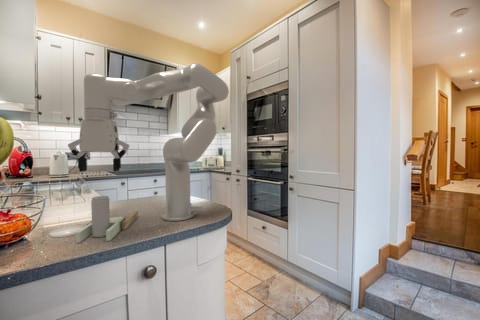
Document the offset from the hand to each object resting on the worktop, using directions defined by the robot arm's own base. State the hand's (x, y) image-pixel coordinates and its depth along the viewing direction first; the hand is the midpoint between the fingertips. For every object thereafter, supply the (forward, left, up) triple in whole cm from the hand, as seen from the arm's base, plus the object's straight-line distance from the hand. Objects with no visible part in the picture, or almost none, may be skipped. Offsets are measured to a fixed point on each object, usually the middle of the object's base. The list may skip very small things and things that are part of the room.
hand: (100, 171), depth 72 cm
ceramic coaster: (+12, -4, -20) cm, 24 cm away
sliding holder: (0, -1, -20) cm, 20 cm away
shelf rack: (0, -11, -20) cm, 23 cm away
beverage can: (0, 0, -21) cm, 21 cm away
